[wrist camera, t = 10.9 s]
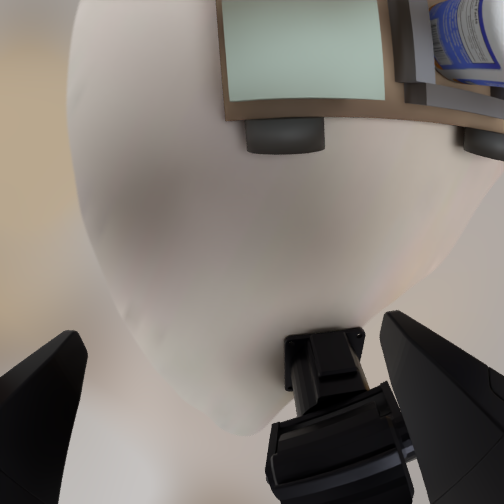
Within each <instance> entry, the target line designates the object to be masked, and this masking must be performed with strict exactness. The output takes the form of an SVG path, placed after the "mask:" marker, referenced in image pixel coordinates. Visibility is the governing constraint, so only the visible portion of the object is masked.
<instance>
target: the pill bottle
mask: <svg viewBox="0 0 504 504" xmlns="http://www.w3.org/2000/svg"><path fill="white" fill-rule="evenodd" d="M429 15H430V23H431V31H432V40H433V50H434V64H435V69H436V70H437V71H438V72H440V73H441V74H442V75H443V76H444V77H446V78H447V79H449V80H451V81H454V82H457V83H461V84H469V85H484V86H495V87H504V0H447V1H444V2H441V3H438V4H435V5H433V6H432V7H430V8H429Z"/></svg>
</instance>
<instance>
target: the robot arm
mask: <svg viewBox="0 0 504 504" xmlns="http://www.w3.org/2000/svg"><path fill="white" fill-rule="evenodd" d="M358 334H360V335H358ZM364 339H365V332H364V330H363V329H362V328H357V329H349V330H342V331H334V332H325V333H316V334H307V335H297V336H289V337H287V338H286V339H285V341H284V362H285V390H286V391H293V392H294V399H295V405H296V412H297V417H296V418H293V419H291V420H287V421H284V422H277V423H273V424H272V428H271V434H270V439H269V447H268V453H267V460H266V467H265V474H266V481H267V483H268V484H269V485H270V487H271V490H272V492H273V493H274V495H275V496H276V498H278V500H280V502H281V504H412V498H413V495H414V488H413V484H412V481H411V478H410V474H409V471H408V468H407V465H406V463H407V462H410V461H412V460H415V459H417V460H418V463H419V467H420V470H421V473H422V477H423V480H424V483H425V487H426V490H427V494H428V498H429V501H430V504H504V376H503V375H501V374H499V373H498V372H497V371H495V370H493V369H492V368H490V367H489V368H488V366H487V365H486V364H484V363H483V362H481V361H479V360H478V359H476V358H475V357H473V356H472V355H470V354H468V353H467V352H465V351H464V350H462V349H461V348H459V347H457V346H456V345H454V344H453V343H451V342H449V341H448V340H446V339H445V338H443V337H441V336H440V335H438V334H437V333H435V332H433V331H432V330H430V329H429V328H427V327H425V326H424V325H422V324H420V323H419V322H417V321H416V320H414V319H412V318H411V317H409V316H407V315H406V314H404V313H402V312H401V311H398V310H396V311H389V312H386V313H385V314H384V317H383V321H382V326H381V331H380V343H381V347H382V350H383V354H384V358H385V362H386V365H387V369H388V373H389V377H390V381H391V385H392V387H393V391H394V393H395V396H396V399H397V401H398V404H399V406H398V404H397V402H396V399H395V397H394V395H393V393H392V391H391V388H390V386H389V384H388V382H387V381H385V382H383V383H381V384H380V385H379V386H377V387H375V388H373V389H370V388H369V386H368V383H367V380H366V377H365V375H364V372H363V369H362V367H361V364H360V358H361V354H362V350H363V344H364ZM289 342H293V343H289ZM87 358H88V353H87V350H86V347H85V346H84V343H83V341H82V339H81V337H80V335H79V333H78V332H77V331H74V330H66V331H63V332H62V333H61V334H59V335H58V336H56V337H55V338H54V339H52V340H51V341H49V342H48V343H47V344H45V345H44V346H42V347H41V348H40V349H38V350H37V351H36V352H34V353H33V354H31V355H30V356H28V357H27V358H26V359H24V360H23V361H22V362H20V363H19V364H18V365H16V366H15V367H13V368H12V369H11V370H9V371H8V372H7V373H6V374H4V375H3V376H1V377H0V504H58V501H59V494H60V488H61V482H62V477H63V471H64V466H65V461H66V456H67V451H68V447H69V442H70V438H71V433H72V429H73V425H74V421H75V417H76V413H77V409H78V405H79V401H80V397H81V392H82V385H83V380H84V374H85V368H86V364H87ZM399 407H400V408H399ZM400 410H401V411H400Z"/></svg>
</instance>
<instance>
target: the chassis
mask: <svg viewBox="0 0 504 504" xmlns="http://www.w3.org/2000/svg"><path fill="white" fill-rule="evenodd" d="M444 1H447V0H216V10H217V24H218V37H219V49H220V62H221V74H222V86H223V98H224V110H225V121H235V120H245V129H246V142H247V151H248V152H250V153H256V154H274V155H279V154H302V153H311V152H317V151H321V150H324V149H325V137H324V117H367V118H387V119H401V120H413V121H423V122H433V123H441V124H449V125H457V126H464V127H465V138H464V150H465V151H467V152H470V153H473V154H476V155H480V156H483V157H487V158H491V159H496V160H500V161H504V87H495V86H484V85H469V84H461V83H457V82H454V81H451V80H449V79H447V78H446V77H444V76H443V75H442V74H441V73H440V72H438V71H437V70H436V69H435V64H434V50H433V40H432V31H431V23H430V15H429V8H430V7H432V6H433V5H435V4H438V3H441V2H444Z"/></svg>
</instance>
